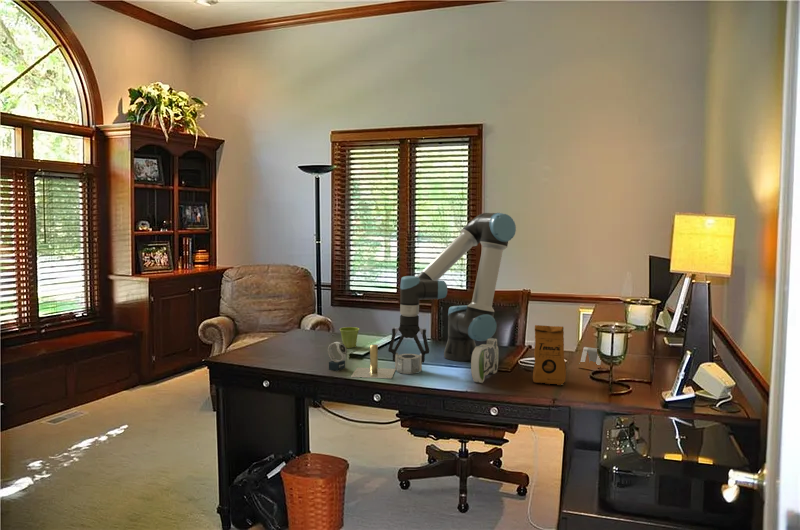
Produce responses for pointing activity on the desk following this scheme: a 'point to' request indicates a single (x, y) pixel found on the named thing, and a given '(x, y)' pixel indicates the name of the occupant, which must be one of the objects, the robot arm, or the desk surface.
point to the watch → (336, 364)
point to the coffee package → (549, 355)
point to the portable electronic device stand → (590, 355)
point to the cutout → (484, 360)
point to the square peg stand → (373, 367)
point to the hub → (408, 363)
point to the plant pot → (349, 336)
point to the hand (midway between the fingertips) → (408, 369)
